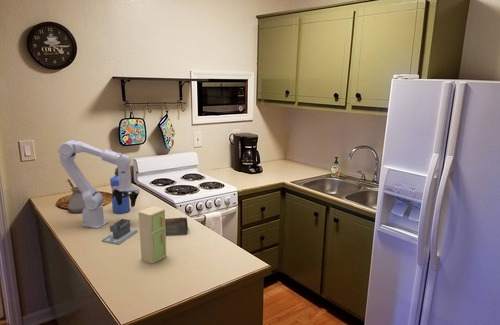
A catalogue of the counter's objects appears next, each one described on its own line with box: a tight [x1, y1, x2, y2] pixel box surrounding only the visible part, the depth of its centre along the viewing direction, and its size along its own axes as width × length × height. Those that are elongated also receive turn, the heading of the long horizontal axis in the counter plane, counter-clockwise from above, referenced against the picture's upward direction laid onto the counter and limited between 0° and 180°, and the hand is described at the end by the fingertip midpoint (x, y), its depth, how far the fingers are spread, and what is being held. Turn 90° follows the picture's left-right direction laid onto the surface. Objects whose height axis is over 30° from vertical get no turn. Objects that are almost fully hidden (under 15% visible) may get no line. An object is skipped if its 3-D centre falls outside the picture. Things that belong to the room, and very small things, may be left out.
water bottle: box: [109, 166, 131, 215], centre depth 191 cm, size 9×9×25 cm
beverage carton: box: [165, 217, 189, 237], centre depth 168 cm, size 8×19×7 cm, turn 99°
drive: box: [109, 218, 131, 239], centre depth 162 cm, size 4×9×6 cm, turn 163°
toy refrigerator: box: [138, 205, 167, 265], centre depth 141 cm, size 8×7×21 cm
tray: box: [101, 228, 139, 245], centre depth 162 cm, size 9×14×5 cm, turn 163°
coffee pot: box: [65, 178, 86, 214], centre depth 196 cm, size 21×12×15 cm, turn 44°
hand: (126, 205), depth 175 cm, fingers open, 7 cm apart
